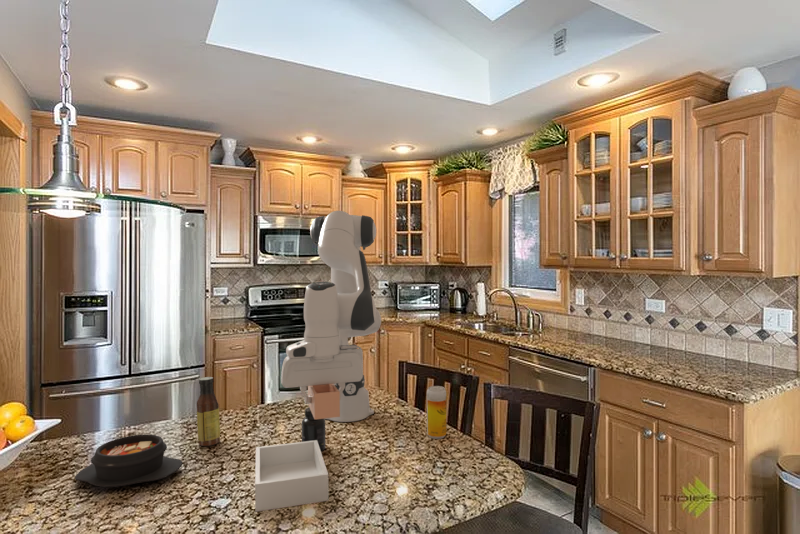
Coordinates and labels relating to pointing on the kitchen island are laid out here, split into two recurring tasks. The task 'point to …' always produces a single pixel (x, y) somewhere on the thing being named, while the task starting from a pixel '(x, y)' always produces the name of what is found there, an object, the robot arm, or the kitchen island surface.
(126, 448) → the casserole
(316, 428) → the supplement bottle
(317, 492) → the grey crate
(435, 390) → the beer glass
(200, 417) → the sauce bottle
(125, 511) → the kitchen island surface
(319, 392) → the terracotta crate
